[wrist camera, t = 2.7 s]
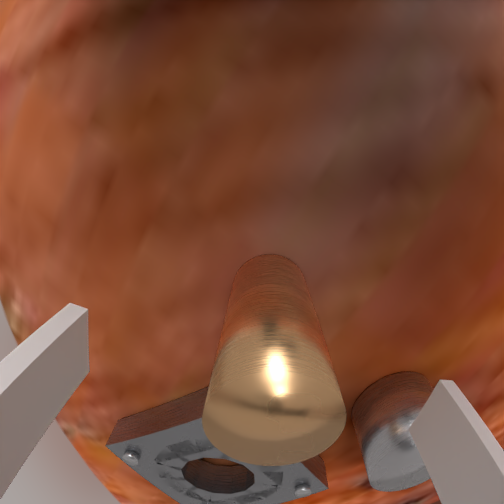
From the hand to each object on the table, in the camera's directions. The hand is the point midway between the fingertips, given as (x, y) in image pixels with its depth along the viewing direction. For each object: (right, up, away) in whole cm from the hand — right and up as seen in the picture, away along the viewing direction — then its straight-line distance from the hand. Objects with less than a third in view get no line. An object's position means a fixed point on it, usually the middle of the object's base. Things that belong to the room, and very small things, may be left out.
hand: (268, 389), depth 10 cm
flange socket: (-3, -11, +11) cm, 16 cm away
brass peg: (0, +3, +7) cm, 8 cm away
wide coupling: (+10, -7, +10) cm, 15 cm away
